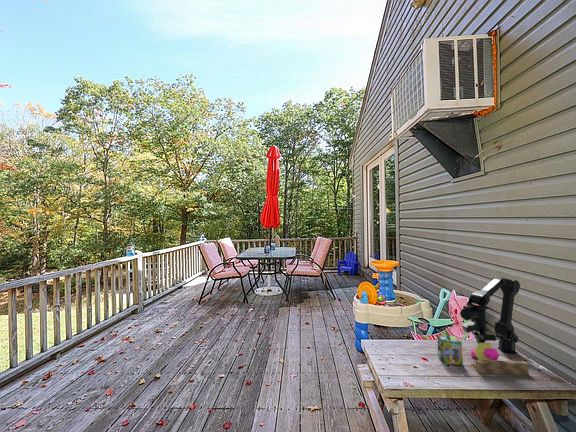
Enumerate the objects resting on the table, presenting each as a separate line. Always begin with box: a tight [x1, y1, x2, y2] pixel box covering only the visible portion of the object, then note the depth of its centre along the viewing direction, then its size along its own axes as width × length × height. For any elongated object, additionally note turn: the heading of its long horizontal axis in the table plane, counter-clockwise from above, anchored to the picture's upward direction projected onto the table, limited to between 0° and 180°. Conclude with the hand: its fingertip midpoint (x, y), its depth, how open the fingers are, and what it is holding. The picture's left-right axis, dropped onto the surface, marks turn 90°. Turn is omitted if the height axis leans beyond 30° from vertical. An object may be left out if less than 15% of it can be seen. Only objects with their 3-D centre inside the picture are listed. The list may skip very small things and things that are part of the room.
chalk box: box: [436, 330, 464, 366], centre depth 148 cm, size 9×9×15 cm
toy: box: [470, 342, 500, 361], centre depth 147 cm, size 10×18×10 cm, turn 178°
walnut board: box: [475, 359, 530, 376], centre depth 135 cm, size 22×2×5 cm, turn 85°
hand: (480, 347), depth 152 cm, fingers closed
